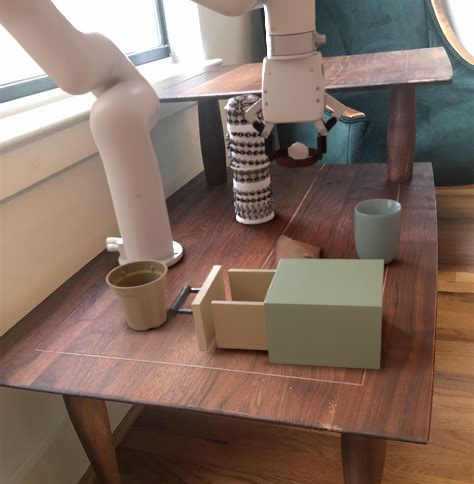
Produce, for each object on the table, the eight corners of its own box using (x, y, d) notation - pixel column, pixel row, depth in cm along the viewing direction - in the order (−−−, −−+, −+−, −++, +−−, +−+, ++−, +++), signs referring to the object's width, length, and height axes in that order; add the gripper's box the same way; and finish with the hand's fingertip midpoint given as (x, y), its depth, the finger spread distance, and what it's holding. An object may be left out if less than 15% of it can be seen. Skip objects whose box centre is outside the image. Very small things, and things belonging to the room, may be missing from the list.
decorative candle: (284, 215, 119) (276, 94, 106) (250, 228, 115) (237, 104, 102) (260, 205, 126) (249, 90, 113) (226, 217, 122) (211, 99, 109)
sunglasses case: (327, 294, 87) (304, 263, 85) (290, 315, 90) (267, 285, 87) (321, 246, 102) (301, 219, 100) (290, 265, 105) (270, 239, 103)
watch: (321, 160, 95) (321, 139, 93) (314, 169, 91) (314, 147, 89) (279, 160, 98) (277, 139, 96) (271, 168, 94) (269, 147, 92)
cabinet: (269, 363, 74) (263, 302, 69) (284, 314, 85) (280, 258, 80) (379, 369, 71) (382, 306, 66) (381, 317, 81) (384, 259, 76)
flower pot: (125, 307, 92) (113, 261, 87) (180, 303, 91) (171, 256, 87) (112, 339, 84) (99, 290, 79) (172, 334, 83) (162, 285, 79)
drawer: (168, 349, 78) (158, 303, 74) (192, 308, 88) (184, 264, 83) (294, 356, 74) (291, 307, 70) (305, 312, 83) (303, 266, 79)
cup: (400, 270, 92) (403, 215, 87) (353, 270, 94) (353, 216, 89) (398, 250, 99) (401, 197, 93) (354, 251, 100) (354, 199, 95)
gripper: (349, 38, 86) (348, 150, 95) (241, 47, 90) (250, 154, 99) (347, 44, 80) (346, 163, 89) (231, 53, 84) (242, 167, 93)
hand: (296, 158), depth 94 cm, fingers closed on watch, 7 cm apart
